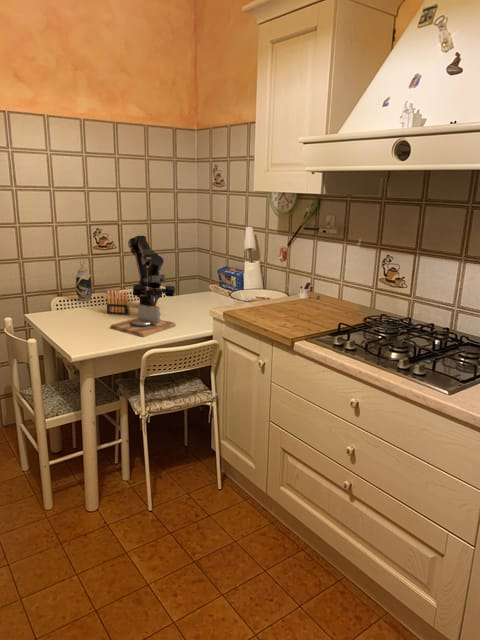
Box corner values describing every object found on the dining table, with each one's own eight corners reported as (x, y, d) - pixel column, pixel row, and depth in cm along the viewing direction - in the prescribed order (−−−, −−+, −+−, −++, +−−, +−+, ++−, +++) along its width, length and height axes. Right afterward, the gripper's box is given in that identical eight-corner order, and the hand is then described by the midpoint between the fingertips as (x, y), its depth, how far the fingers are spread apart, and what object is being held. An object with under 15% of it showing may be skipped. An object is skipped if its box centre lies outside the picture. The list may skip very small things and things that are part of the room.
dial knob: (127, 324, 216) (126, 305, 213) (140, 318, 224) (140, 301, 222) (151, 328, 210) (151, 309, 208) (165, 322, 219) (164, 304, 217)
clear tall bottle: (89, 302, 259) (86, 254, 252) (74, 301, 259) (70, 254, 252) (94, 298, 268) (91, 252, 261) (79, 297, 268) (76, 251, 261)
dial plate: (110, 328, 216) (110, 324, 215) (143, 318, 232) (143, 315, 231) (143, 337, 205) (143, 333, 205) (175, 326, 221) (175, 322, 221)
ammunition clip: (129, 314, 239) (128, 290, 235) (128, 315, 237) (127, 290, 233) (108, 313, 240) (107, 288, 236) (106, 314, 238) (105, 289, 235)
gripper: (133, 267, 220) (134, 297, 214) (175, 268, 225) (177, 298, 219) (132, 280, 230) (133, 309, 223) (172, 281, 235) (174, 310, 228)
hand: (154, 306), depth 223 cm, fingers closed
